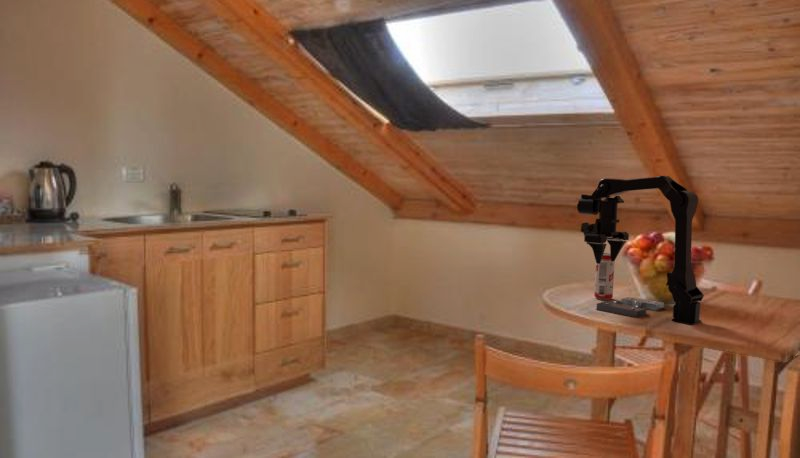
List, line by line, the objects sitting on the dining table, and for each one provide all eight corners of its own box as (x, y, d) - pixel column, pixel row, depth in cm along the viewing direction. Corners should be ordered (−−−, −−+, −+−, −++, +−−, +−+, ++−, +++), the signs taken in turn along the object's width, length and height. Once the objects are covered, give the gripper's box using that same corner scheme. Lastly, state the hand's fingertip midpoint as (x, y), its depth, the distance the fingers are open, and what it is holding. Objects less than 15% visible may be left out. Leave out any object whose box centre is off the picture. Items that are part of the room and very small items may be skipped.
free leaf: (663, 308, 213) (663, 301, 213) (653, 311, 207) (653, 304, 207) (628, 302, 221) (629, 295, 221) (617, 305, 215) (618, 298, 215)
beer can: (592, 299, 225) (594, 254, 223) (596, 296, 230) (598, 252, 229) (610, 301, 222) (613, 255, 220) (614, 298, 227) (616, 253, 226)
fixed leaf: (649, 313, 203) (650, 306, 203) (636, 317, 198) (637, 310, 198) (609, 306, 214) (610, 299, 214) (596, 309, 208) (596, 302, 208)
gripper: (601, 213, 224) (598, 257, 226) (571, 215, 212) (569, 261, 213) (630, 215, 216) (628, 261, 218) (601, 217, 204) (598, 266, 205)
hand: (605, 262), depth 214 cm, fingers open, 9 cm apart
